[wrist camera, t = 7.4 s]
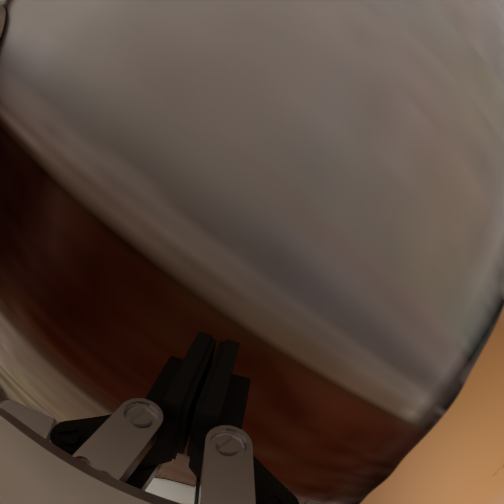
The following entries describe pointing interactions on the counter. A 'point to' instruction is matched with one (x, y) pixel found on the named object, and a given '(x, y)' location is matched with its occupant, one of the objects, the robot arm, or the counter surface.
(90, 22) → the counter surface
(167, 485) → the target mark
